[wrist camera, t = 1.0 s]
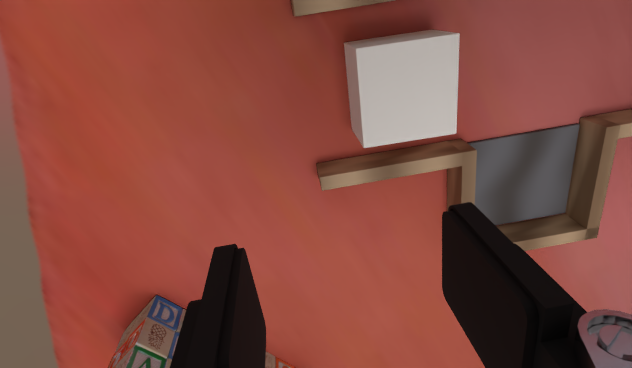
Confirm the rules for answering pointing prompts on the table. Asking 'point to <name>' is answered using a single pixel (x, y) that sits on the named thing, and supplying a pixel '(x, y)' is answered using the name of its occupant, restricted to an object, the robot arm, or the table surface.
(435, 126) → the cream block
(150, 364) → the stack of blocks
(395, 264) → the table surface
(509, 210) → the low wooden maze walls
